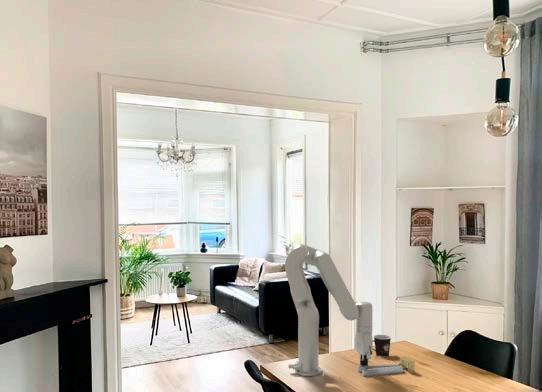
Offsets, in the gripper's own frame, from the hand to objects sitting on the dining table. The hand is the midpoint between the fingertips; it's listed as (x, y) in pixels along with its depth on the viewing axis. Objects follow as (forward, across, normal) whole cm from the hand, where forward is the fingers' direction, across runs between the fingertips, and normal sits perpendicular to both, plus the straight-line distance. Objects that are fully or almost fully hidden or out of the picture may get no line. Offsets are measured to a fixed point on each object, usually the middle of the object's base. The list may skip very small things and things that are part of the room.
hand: (364, 368), depth 198 cm
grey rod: (0, +4, +6) cm, 7 cm away
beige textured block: (0, +6, +19) cm, 20 cm away
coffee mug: (+2, -18, +19) cm, 26 cm away
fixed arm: (0, +7, +6) cm, 9 cm away
